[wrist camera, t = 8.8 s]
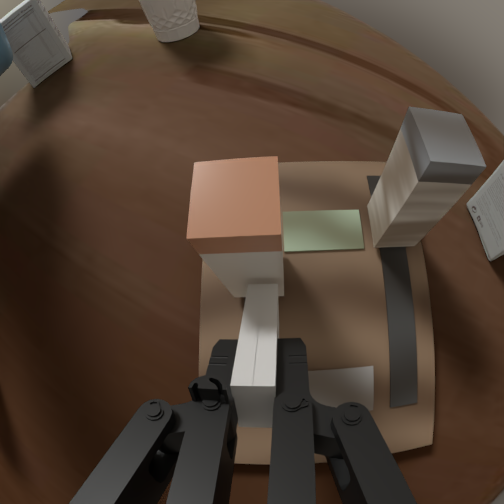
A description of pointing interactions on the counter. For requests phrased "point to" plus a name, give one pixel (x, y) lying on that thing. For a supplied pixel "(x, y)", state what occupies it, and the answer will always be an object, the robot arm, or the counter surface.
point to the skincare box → (490, 213)
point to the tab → (238, 221)
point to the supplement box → (35, 41)
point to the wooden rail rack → (360, 278)
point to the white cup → (171, 18)
